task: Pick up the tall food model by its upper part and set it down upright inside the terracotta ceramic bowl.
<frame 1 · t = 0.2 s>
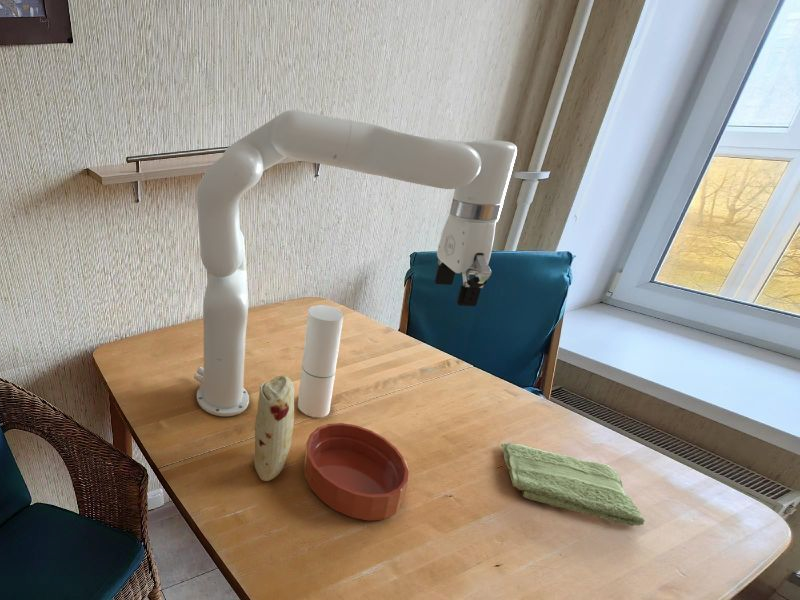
hand: (453, 293, 84), 31 cm above the table, tool pointing down, fingers open, 9 cm apart
food model: (270, 467, 84), on the table
washcloth: (562, 487, 79), on the table
bowl: (351, 480, 81), on the table
cylindrical container: (313, 407, 100), on the table
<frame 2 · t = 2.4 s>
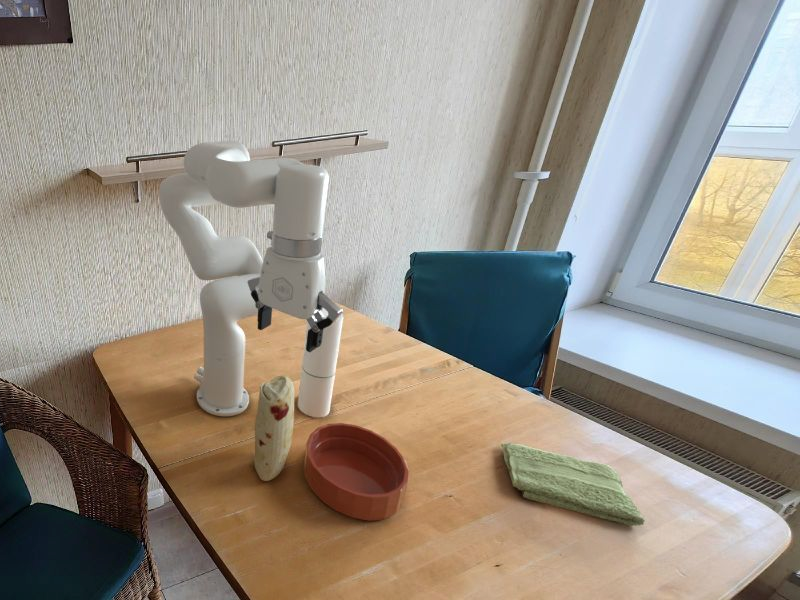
hand: (287, 337, 74), 30 cm above the table, tool pointing down, fingers open, 9 cm apart
nothing on the table moved.
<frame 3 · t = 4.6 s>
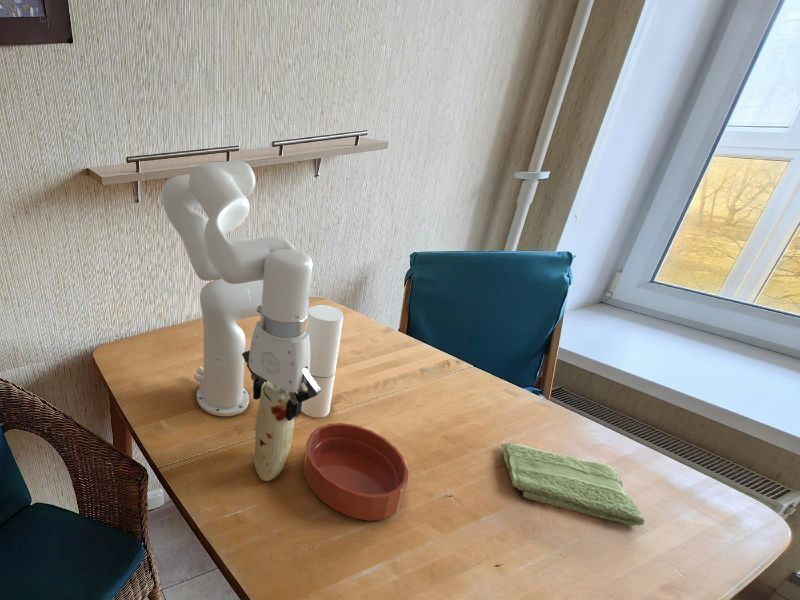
hand: (275, 405, 79), 15 cm above the table, tool pointing down, fingers closed on food model, 6 cm apart
food model: (269, 467, 84), on the table, touching gripper
everything else where it was.
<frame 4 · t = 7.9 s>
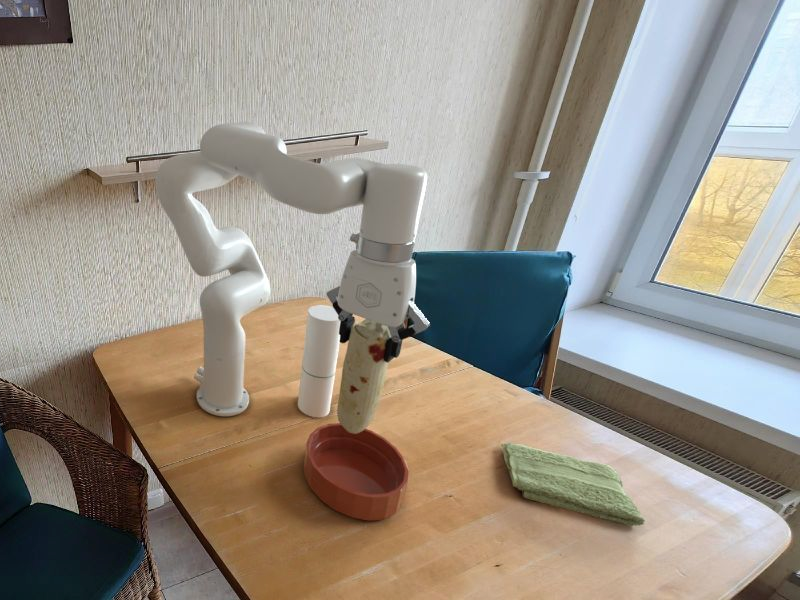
hand: (367, 348, 71), 29 cm above the table, tool pointing down, fingers closed on food model, 6 cm apart
food model: (354, 421, 76), point 14 cm above the table, touching gripper
everything else where it was.
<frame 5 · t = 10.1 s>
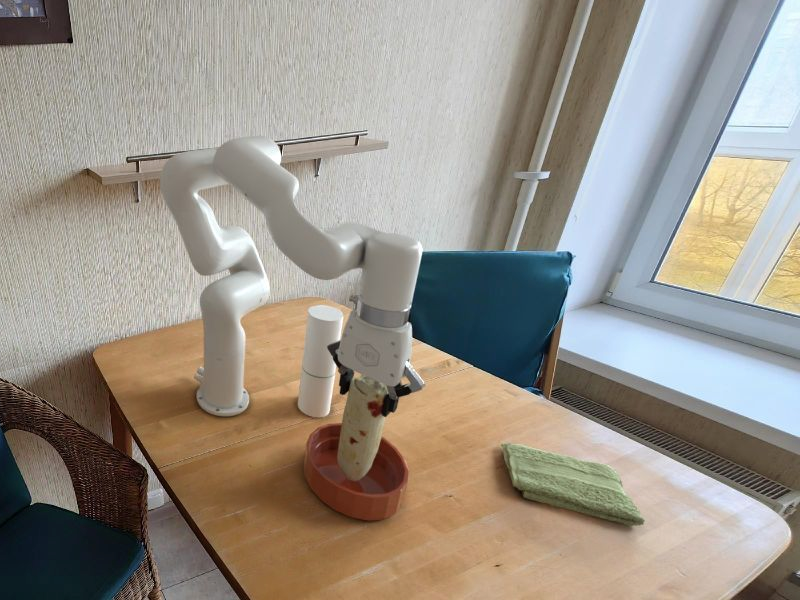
hand: (365, 401, 74), 19 cm above the table, tool pointing down, fingers closed on food model, 6 cm apart
food model: (353, 467, 80), point 3 cm above the table, touching gripper
everything else where it was.
when the fingers open (16 cm above the table, at t = 11.5 s): food model stays where it is, resting on bowl.
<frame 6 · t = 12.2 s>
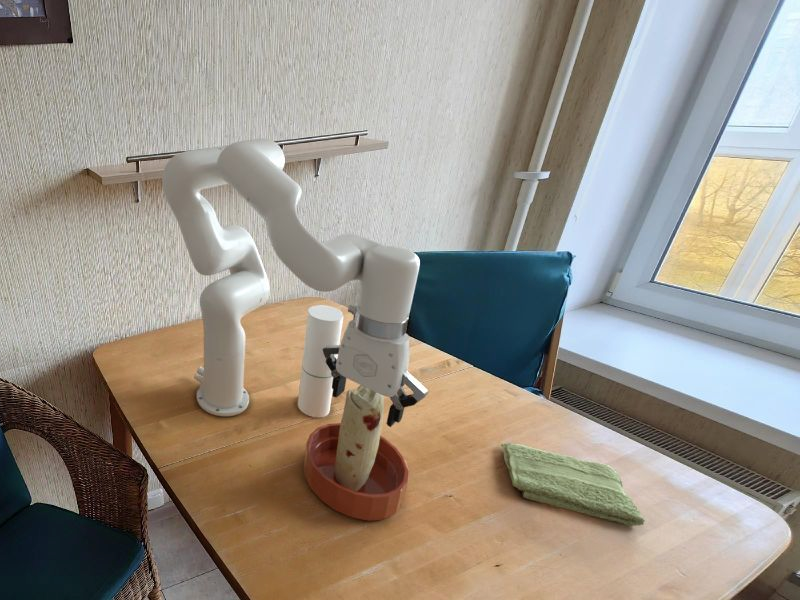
hand: (364, 407, 75), 17 cm above the table, tool pointing down, fingers open, 9 cm apart
food model: (350, 478, 81), resting on bowl
everything else where it was.
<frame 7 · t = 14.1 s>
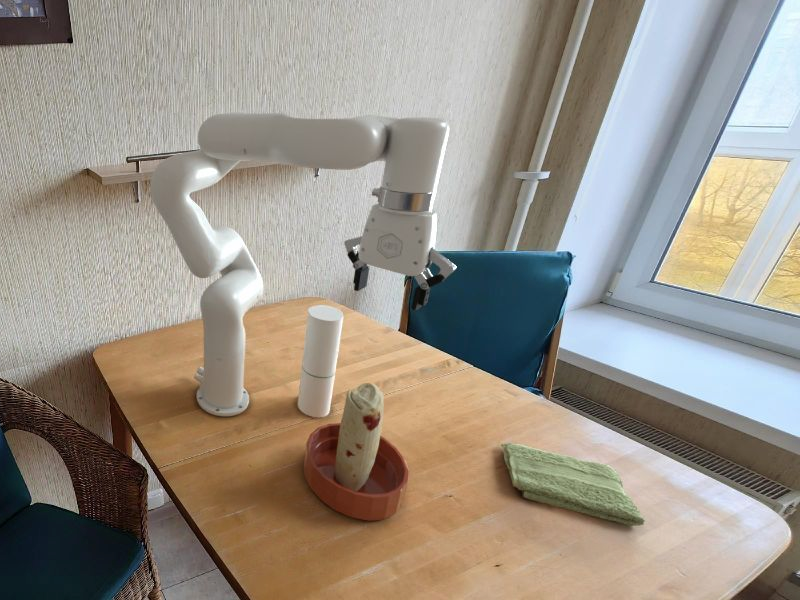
hand: (387, 297, 73), 36 cm above the table, tool pointing down, fingers open, 9 cm apart
nothing on the table moved.
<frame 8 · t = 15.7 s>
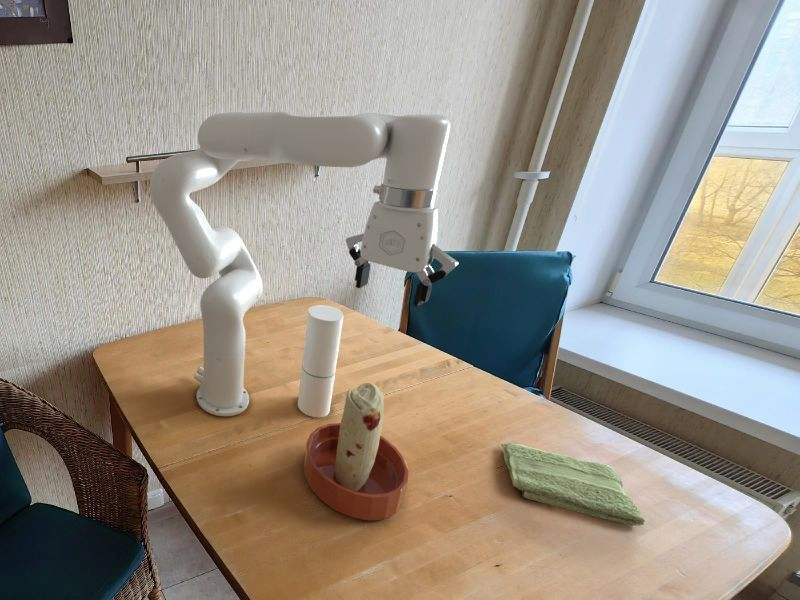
hand: (389, 294, 74), 36 cm above the table, tool pointing down, fingers open, 9 cm apart
nothing on the table moved.
at the end: food model 0.1 cm off-centre in the bowl, point 0.4 cm above the bowl's base; food model tilted 0°; the gripper is holding nothing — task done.
